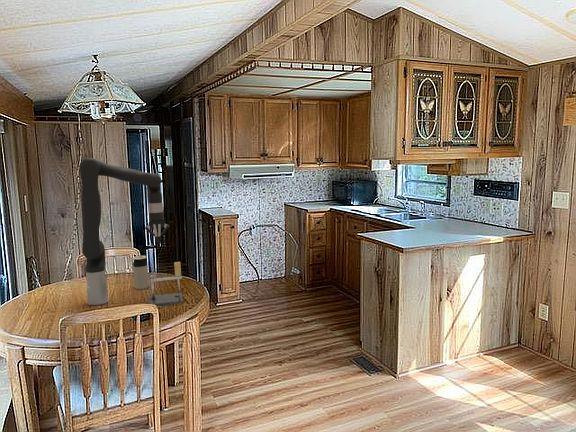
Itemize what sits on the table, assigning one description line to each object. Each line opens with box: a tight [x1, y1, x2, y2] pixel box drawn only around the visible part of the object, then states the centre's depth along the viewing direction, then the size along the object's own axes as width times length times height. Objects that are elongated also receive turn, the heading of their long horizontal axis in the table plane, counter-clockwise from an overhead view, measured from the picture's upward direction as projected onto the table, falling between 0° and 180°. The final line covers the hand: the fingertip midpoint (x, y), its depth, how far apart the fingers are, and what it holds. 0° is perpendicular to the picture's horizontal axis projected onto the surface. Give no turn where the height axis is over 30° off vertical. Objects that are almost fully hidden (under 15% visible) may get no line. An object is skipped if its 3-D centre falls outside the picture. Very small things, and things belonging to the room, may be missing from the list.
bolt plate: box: [147, 274, 184, 307], centre depth 232 cm, size 18×14×14 cm
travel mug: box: [132, 255, 150, 290], centre depth 257 cm, size 8×8×18 cm
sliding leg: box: [173, 261, 182, 295], centre depth 234 cm, size 3×4×18 cm
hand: (158, 243), depth 240 cm, fingers closed
